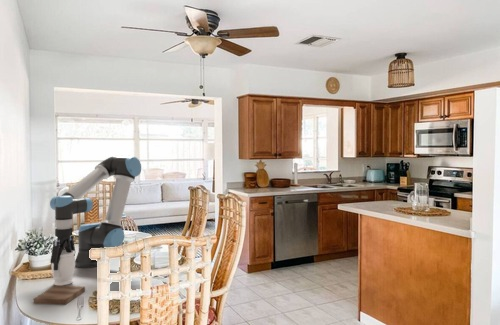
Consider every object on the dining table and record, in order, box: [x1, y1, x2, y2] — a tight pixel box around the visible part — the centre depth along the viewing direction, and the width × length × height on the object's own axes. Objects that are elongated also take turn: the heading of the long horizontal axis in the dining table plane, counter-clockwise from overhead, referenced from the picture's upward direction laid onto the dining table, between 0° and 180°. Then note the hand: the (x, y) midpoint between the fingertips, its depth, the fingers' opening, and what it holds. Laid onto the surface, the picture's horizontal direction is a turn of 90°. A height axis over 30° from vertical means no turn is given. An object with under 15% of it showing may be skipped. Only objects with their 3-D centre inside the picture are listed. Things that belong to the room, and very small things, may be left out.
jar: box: [50, 249, 76, 286], centre depth 183 cm, size 11×10×15 cm
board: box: [33, 285, 86, 305], centre depth 166 cm, size 16×14×2 cm
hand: (63, 273), depth 183 cm, fingers closed on jar, 10 cm apart
